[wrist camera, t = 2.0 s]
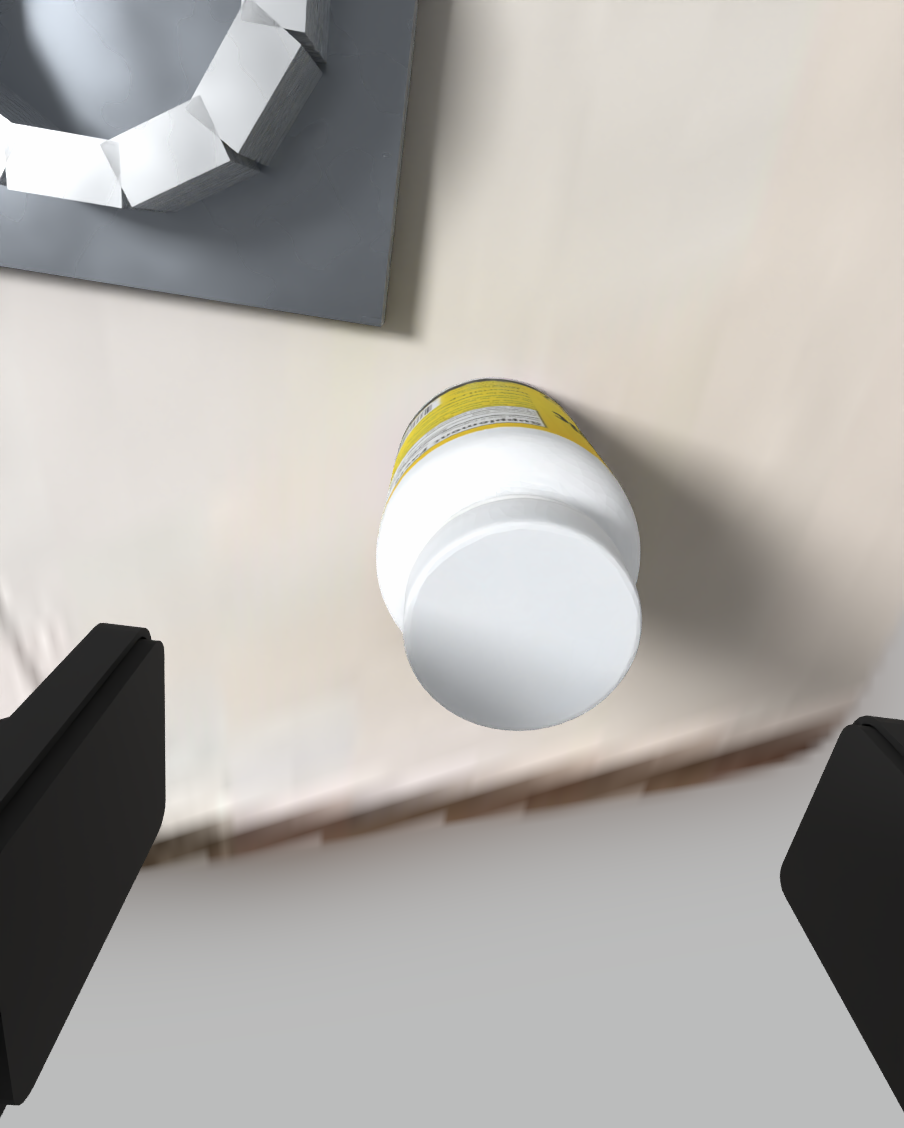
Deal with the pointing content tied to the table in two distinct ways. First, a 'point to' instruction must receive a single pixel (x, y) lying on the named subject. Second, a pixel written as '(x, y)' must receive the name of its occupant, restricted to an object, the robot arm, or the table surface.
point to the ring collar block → (207, 146)
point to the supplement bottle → (509, 558)
